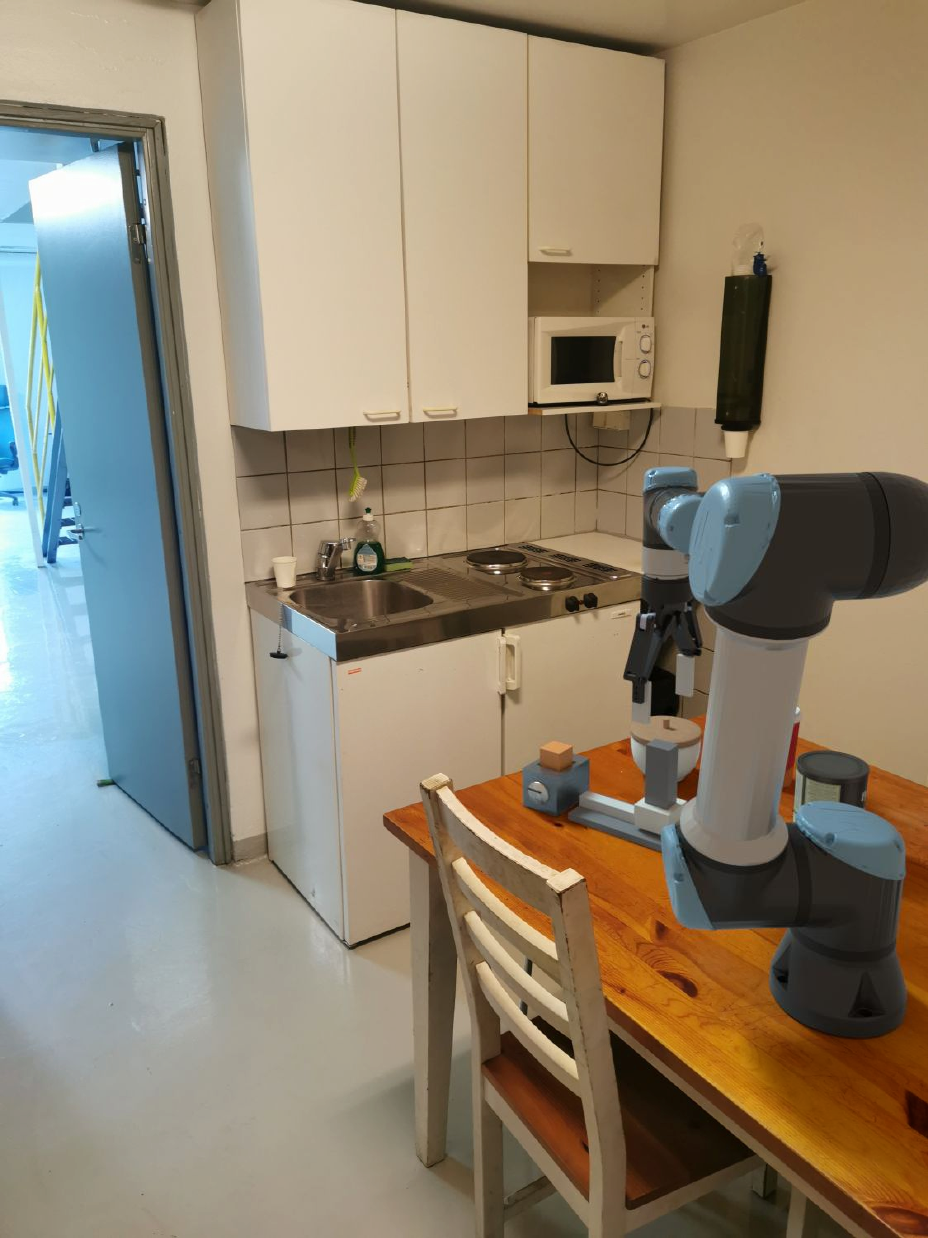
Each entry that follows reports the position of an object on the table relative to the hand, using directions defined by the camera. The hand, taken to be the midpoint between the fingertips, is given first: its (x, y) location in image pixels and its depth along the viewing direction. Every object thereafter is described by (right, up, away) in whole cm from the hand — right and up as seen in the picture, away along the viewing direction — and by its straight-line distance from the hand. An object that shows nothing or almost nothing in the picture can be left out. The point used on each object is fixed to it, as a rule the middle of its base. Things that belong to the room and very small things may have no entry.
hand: (663, 708), depth 141 cm
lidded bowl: (+6, -15, +27) cm, 31 cm away
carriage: (+1, -19, +5) cm, 20 cm away
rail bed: (-3, -20, +9) cm, 22 cm away
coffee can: (+25, -22, +1) cm, 33 cm away
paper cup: (+25, -16, +22) cm, 37 cm away
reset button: (-15, -12, +17) cm, 25 cm away
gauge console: (-15, -18, +18) cm, 29 cm away
